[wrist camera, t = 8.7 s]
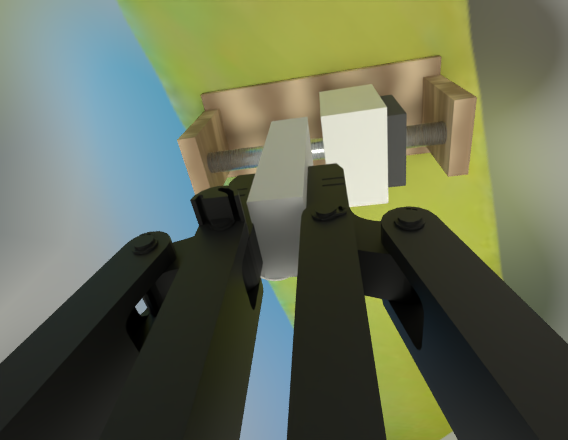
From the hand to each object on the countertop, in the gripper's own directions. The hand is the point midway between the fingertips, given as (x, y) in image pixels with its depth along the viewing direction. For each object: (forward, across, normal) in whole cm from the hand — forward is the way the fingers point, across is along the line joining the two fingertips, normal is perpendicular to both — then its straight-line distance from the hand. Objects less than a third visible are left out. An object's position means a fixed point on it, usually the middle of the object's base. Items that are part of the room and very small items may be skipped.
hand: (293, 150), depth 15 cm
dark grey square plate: (+27, +8, -10) cm, 30 cm away
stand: (+34, 0, -10) cm, 35 cm away
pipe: (+25, +1, -10) cm, 27 cm away
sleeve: (+28, +4, -10) cm, 30 cm away
